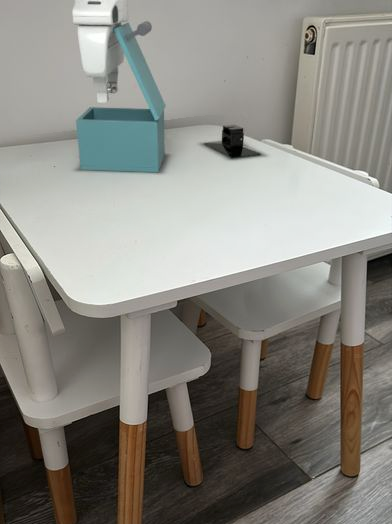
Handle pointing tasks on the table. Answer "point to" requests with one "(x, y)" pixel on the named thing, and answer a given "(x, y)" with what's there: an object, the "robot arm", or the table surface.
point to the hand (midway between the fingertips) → (108, 97)
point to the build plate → (232, 143)
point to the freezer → (120, 139)
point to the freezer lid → (140, 65)
